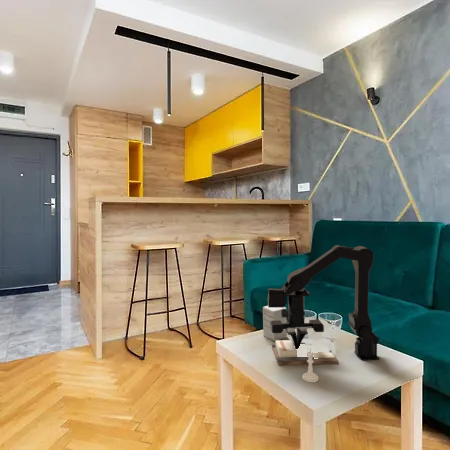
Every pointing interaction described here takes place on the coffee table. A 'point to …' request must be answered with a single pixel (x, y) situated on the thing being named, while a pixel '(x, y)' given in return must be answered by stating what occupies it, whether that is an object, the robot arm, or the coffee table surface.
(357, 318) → the robot arm
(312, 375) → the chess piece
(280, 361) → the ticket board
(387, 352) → the coffee table surface
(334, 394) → the coffee table surface
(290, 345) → the cream flat box
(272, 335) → the grey drawer cabinet
